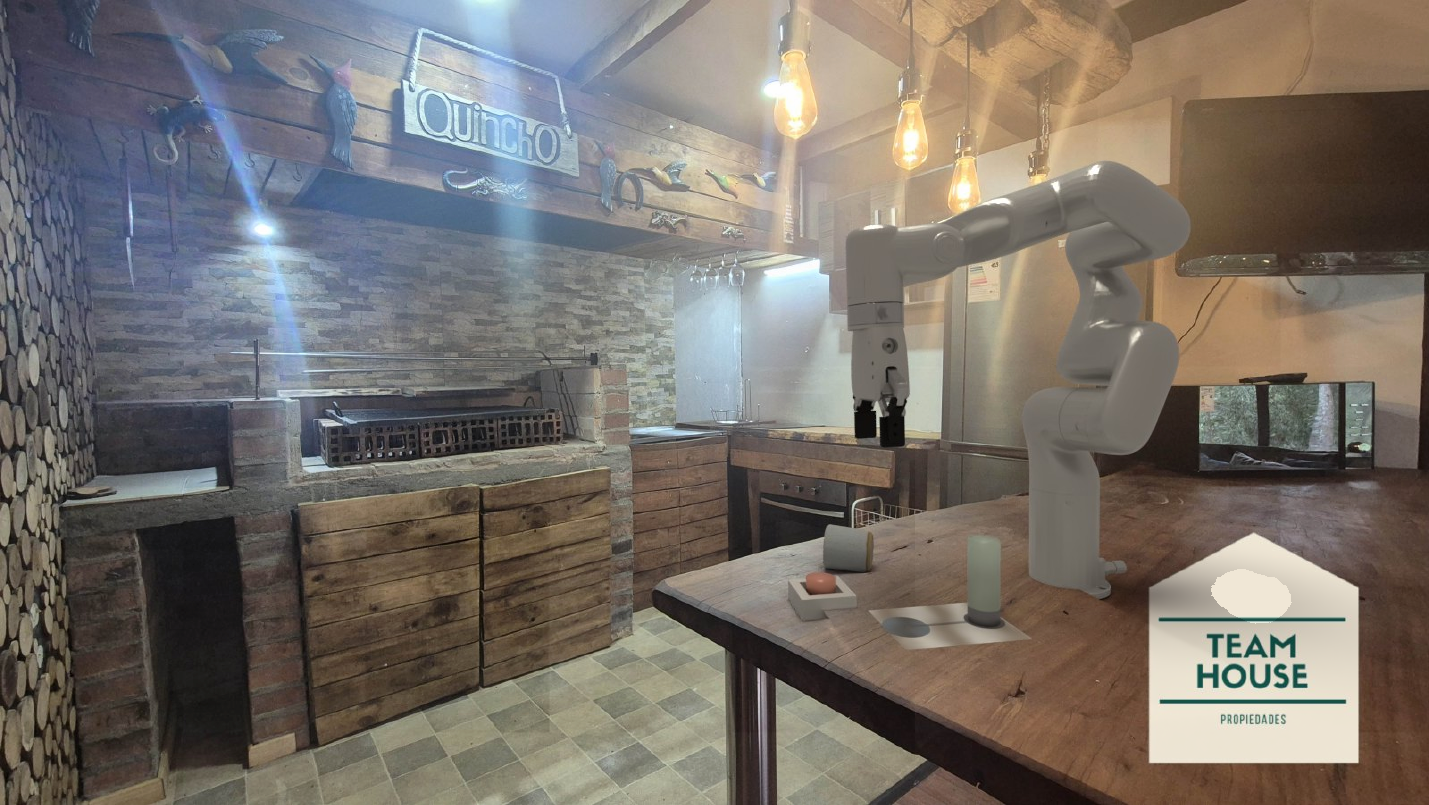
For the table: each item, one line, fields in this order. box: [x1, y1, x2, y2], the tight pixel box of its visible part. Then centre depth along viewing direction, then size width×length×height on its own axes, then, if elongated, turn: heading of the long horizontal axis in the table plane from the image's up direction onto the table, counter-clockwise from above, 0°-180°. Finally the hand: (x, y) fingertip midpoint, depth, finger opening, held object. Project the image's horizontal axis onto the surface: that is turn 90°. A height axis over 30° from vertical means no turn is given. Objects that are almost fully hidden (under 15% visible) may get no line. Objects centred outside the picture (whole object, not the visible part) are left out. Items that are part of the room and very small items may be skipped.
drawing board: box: [868, 602, 1033, 651], centre depth 75 cm, size 18×13×1 cm
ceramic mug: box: [822, 523, 875, 573], centre depth 102 cm, size 11×8×8 cm
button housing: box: [787, 575, 858, 622], centre depth 85 cm, size 8×8×3 cm
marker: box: [966, 534, 1002, 627], centre depth 76 cm, size 4×4×11 cm
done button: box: [805, 571, 836, 595], centre depth 84 cm, size 4×4×2 cm
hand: (878, 442), depth 79 cm, fingers open, 9 cm apart
